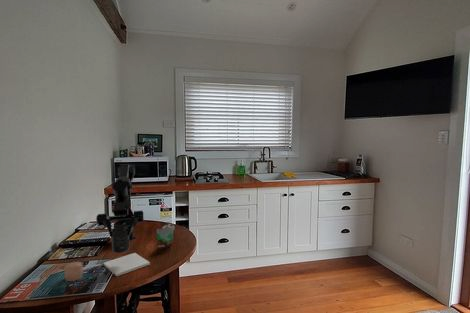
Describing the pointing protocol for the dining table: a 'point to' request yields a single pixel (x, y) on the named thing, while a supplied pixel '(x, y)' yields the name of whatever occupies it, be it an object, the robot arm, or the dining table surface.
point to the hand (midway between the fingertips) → (120, 236)
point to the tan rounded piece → (73, 271)
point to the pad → (126, 264)
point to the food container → (165, 235)
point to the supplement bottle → (120, 237)
